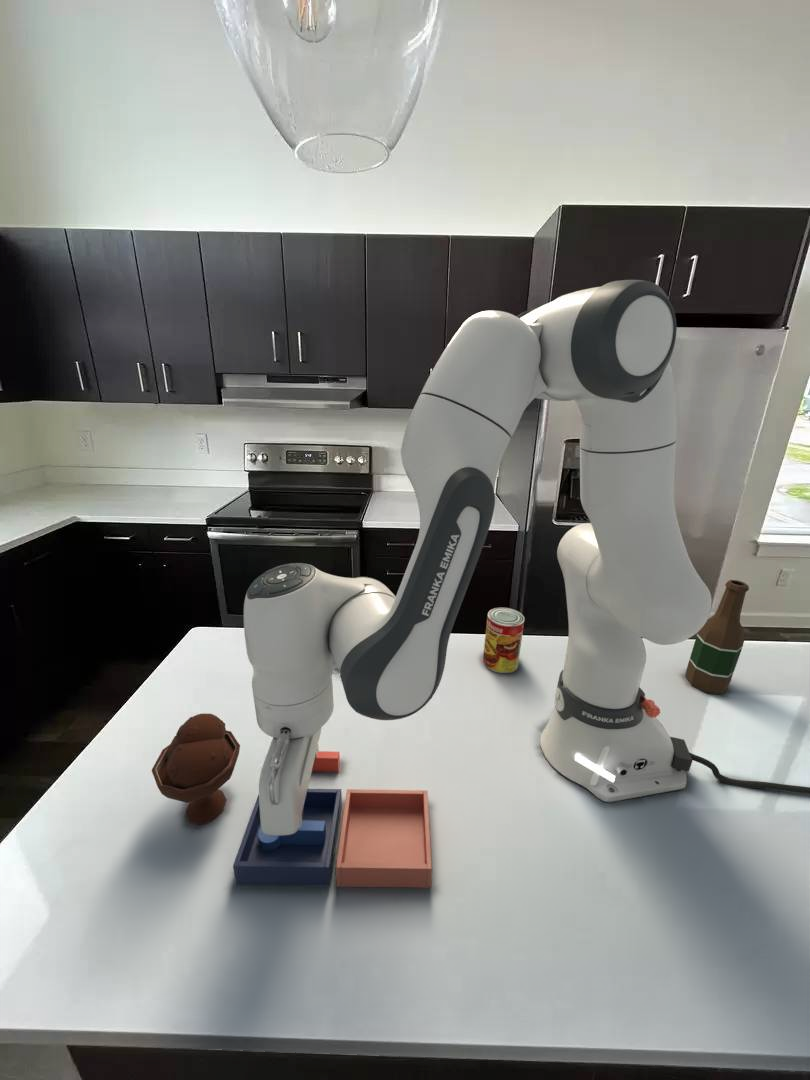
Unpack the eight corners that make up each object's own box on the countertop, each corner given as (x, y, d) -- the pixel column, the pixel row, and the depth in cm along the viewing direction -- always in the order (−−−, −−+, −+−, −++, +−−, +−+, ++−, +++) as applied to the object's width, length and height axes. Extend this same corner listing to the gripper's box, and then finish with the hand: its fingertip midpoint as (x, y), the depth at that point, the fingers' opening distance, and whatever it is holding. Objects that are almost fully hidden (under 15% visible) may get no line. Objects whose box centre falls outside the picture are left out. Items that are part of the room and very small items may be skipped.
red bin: (426, 807, 63) (427, 790, 62) (430, 887, 53) (431, 869, 52) (347, 806, 63) (346, 789, 62) (336, 886, 53) (335, 867, 52)
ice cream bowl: (166, 789, 65) (148, 710, 60) (244, 766, 69) (233, 690, 64) (159, 856, 56) (137, 770, 51) (249, 824, 60) (237, 742, 55)
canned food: (478, 652, 100) (483, 607, 96) (511, 651, 101) (517, 606, 97) (488, 674, 93) (493, 626, 89) (523, 672, 94) (530, 625, 89)
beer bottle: (726, 680, 93) (760, 580, 84) (728, 700, 87) (766, 595, 78) (684, 667, 97) (713, 571, 88) (683, 686, 90) (715, 584, 82)
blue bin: (342, 806, 63) (341, 788, 62) (330, 886, 53) (329, 867, 52) (262, 805, 63) (260, 787, 62) (236, 885, 53) (232, 866, 52)
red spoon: (340, 760, 71) (340, 747, 70) (337, 776, 68) (337, 763, 67) (287, 759, 71) (285, 746, 70) (281, 775, 68) (280, 762, 67)
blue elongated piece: (327, 828, 59) (326, 814, 58) (323, 852, 56) (322, 837, 55) (263, 827, 59) (261, 812, 58) (255, 851, 56) (253, 836, 55)
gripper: (302, 776, 40) (312, 874, 45) (334, 648, 59) (339, 726, 64) (234, 776, 40) (252, 874, 45) (289, 648, 59) (297, 726, 64)
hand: (304, 786), depth 54 cm, fingers open, 8 cm apart
